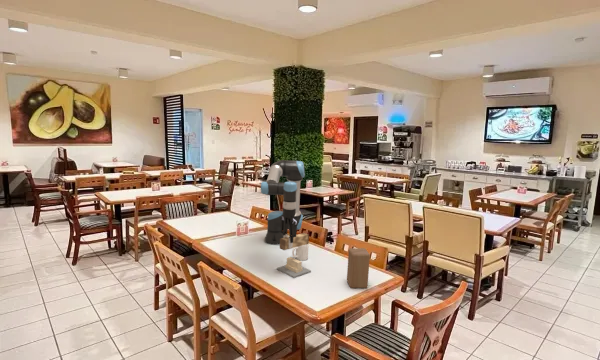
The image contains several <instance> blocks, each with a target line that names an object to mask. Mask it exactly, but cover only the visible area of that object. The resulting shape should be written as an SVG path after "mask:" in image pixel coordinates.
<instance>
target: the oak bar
mask: <svg viewBox="0 0 600 360" xmlns="http://www.w3.org/2000/svg"><path fill="white" fill-rule="evenodd" d="M289 237H290V235H288V237H285V238H281V239H280V244H279V249H280V250H282V251H287V250H290V249H294V248H295V247H299V246H302V245H306V244H309V242H310V241H309V240H310V239H309V238H310V234H309V233H305V232H303V233H299V234H296V237H294V238H293V247H292V248H288V243H289Z"/></svg>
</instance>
